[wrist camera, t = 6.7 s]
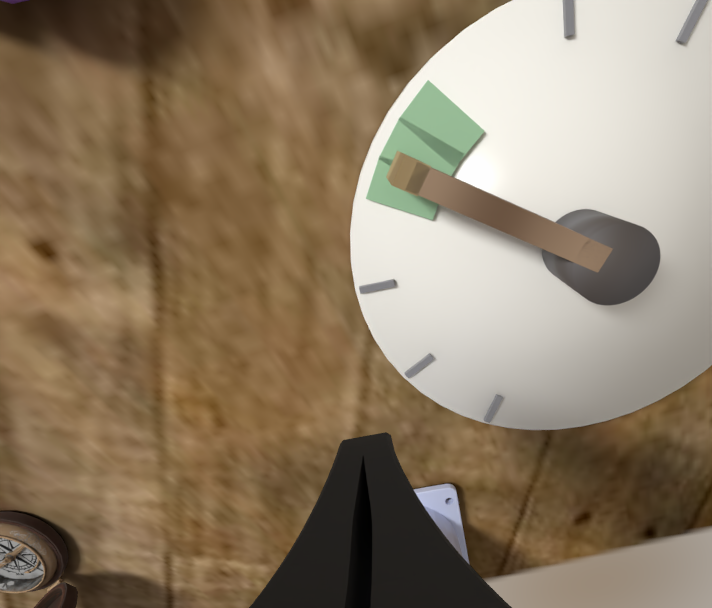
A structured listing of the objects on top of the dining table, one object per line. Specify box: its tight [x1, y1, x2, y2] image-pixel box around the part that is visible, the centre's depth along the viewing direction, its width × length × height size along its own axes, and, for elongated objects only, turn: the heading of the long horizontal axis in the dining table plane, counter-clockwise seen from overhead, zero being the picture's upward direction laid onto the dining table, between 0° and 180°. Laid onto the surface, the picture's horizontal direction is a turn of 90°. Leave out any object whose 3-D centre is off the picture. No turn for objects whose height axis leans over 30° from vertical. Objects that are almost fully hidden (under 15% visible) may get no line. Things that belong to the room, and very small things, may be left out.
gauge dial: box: [350, 0, 712, 430], centre depth 20 cm, size 20×20×1 cm
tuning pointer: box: [386, 151, 660, 305], centre depth 18 cm, size 11×3×3 cm, turn 67°
